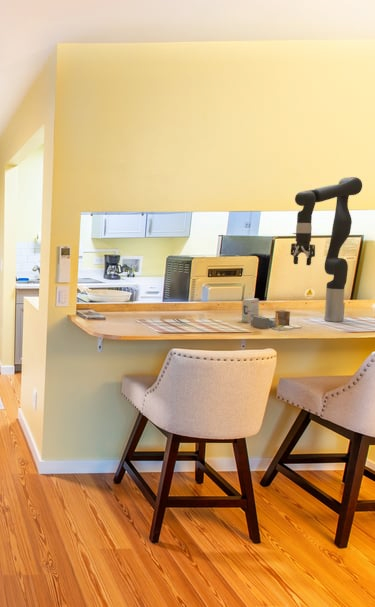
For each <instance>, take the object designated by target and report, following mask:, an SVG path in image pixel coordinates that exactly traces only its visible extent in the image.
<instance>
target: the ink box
mask: <svg viewBox="0 0 375 607" xmlns="http://www.w3.org/2000/svg"><path fill="white" fill-rule="evenodd" d="M259 301H260V299H259V298H245V299H242V304H241V306H242V307H241V309H242V310H241V322H242V323H249V324H251V320H253V316H260V315H259V314H260V313H259V310H260V309H259V308H260V307H259V306H260V305H259V303H260V302H259Z"/></svg>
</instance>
